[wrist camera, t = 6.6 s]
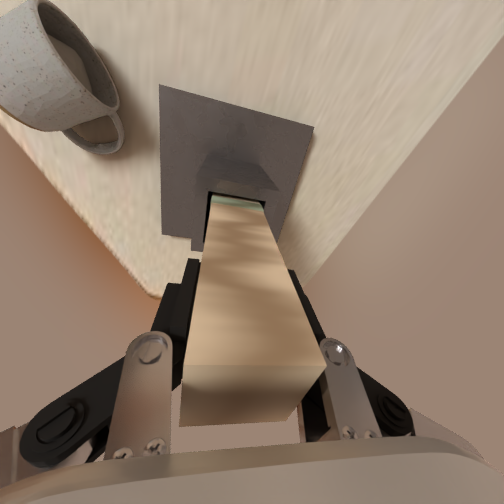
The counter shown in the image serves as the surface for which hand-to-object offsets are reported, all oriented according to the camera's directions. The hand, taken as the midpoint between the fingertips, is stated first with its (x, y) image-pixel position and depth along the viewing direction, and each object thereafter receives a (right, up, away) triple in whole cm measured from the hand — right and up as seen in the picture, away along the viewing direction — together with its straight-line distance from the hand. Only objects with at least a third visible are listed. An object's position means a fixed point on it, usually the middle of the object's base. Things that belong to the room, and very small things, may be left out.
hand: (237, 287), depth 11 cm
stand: (-2, +12, +18) cm, 22 cm away
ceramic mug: (-18, +19, +12) cm, 28 cm away
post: (-1, +7, +11) cm, 13 cm away
